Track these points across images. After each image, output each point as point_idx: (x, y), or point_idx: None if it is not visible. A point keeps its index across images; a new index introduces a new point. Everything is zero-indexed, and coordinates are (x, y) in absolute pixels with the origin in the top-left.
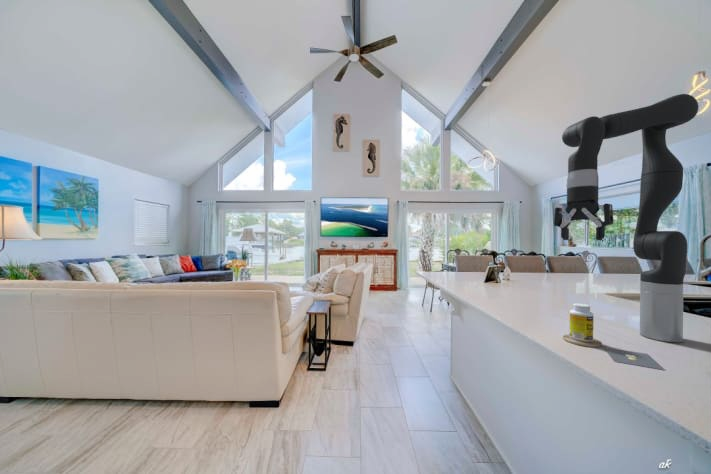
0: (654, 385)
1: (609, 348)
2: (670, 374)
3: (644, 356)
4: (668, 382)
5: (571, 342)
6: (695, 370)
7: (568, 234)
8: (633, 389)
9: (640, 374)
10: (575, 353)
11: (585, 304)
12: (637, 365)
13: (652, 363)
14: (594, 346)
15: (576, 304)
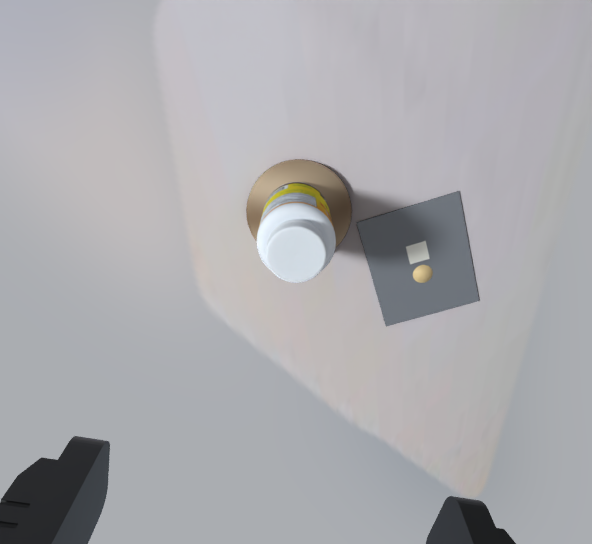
0: (447, 400)
1: (370, 225)
2: (483, 317)
3: (449, 226)
4: (471, 367)
5: None
6: (541, 243)
7: (72, 509)
8: (415, 441)
9: (430, 363)
10: (307, 334)
11: (306, 232)
12: (428, 314)
13: (459, 274)
14: (336, 245)
15: (279, 265)
